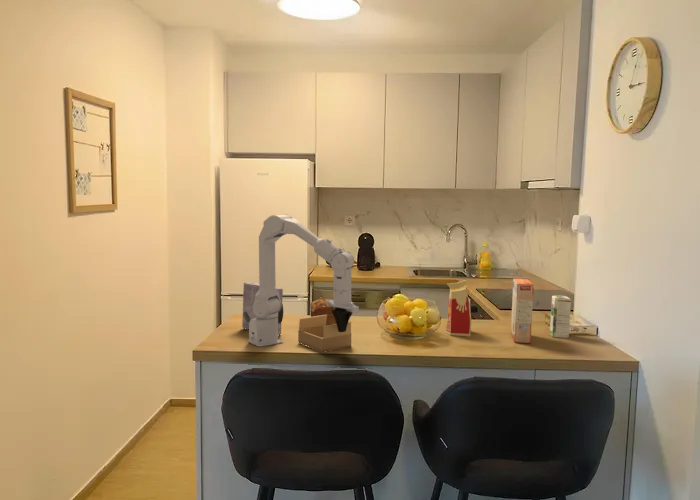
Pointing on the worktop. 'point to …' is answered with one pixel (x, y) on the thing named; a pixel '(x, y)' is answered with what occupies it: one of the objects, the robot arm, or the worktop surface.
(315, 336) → the carton
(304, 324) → the far flap
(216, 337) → the worktop surface
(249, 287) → the cake pan box
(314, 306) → the bread
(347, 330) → the near flap
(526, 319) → the cracker box
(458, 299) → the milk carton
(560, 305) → the syrup box
